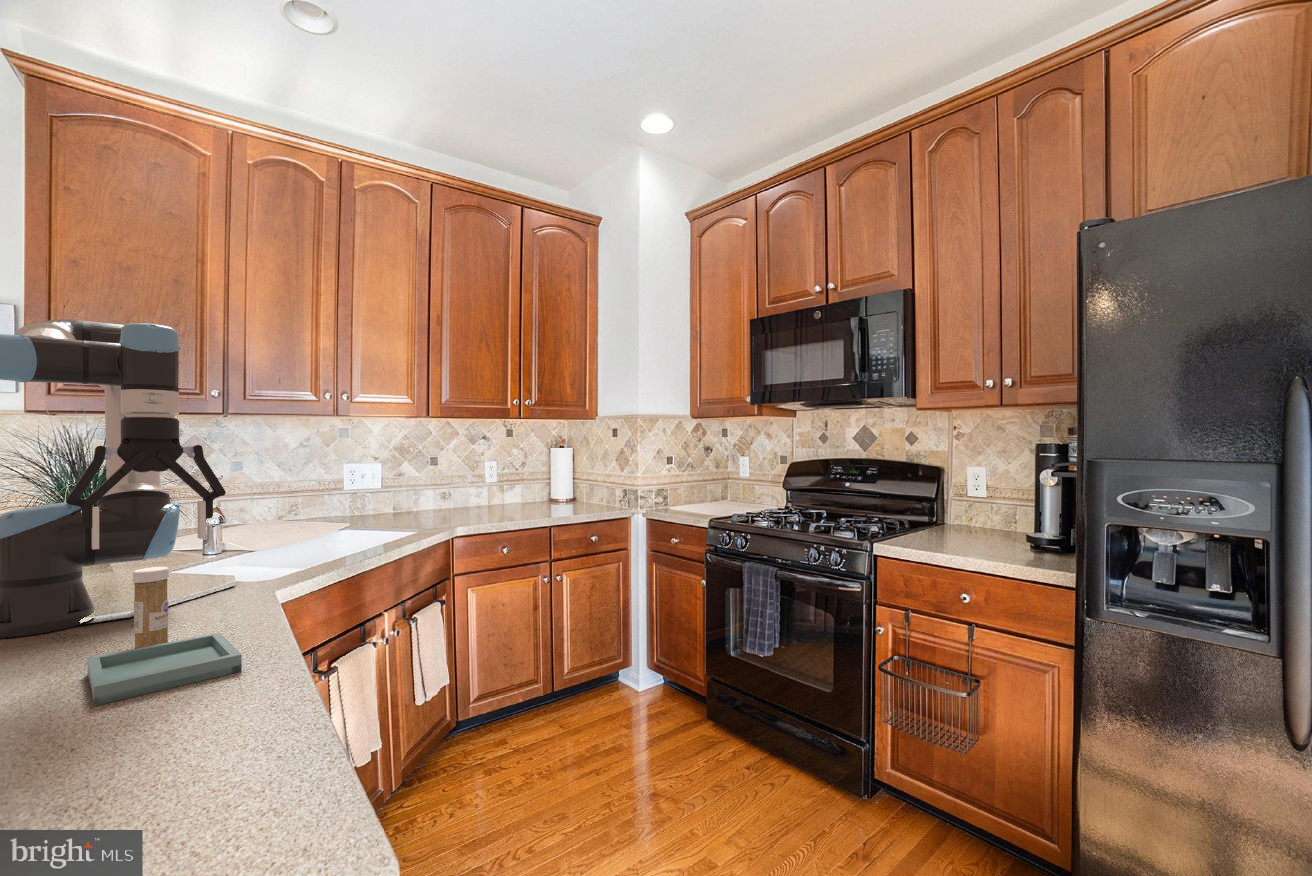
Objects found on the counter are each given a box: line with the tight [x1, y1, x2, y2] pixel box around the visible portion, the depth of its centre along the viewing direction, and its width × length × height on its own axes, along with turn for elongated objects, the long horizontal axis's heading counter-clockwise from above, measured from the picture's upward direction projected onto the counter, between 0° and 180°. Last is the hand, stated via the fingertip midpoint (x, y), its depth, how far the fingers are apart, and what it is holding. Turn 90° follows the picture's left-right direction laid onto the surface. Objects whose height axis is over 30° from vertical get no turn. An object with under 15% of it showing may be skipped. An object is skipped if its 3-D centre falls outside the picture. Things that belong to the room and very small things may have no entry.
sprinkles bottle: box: [132, 566, 170, 649], centre depth 99 cm, size 5×5×14 cm
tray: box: [87, 632, 243, 707], centre depth 88 cm, size 16×16×2 cm
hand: (151, 543), depth 99 cm, fingers open, 13 cm apart
